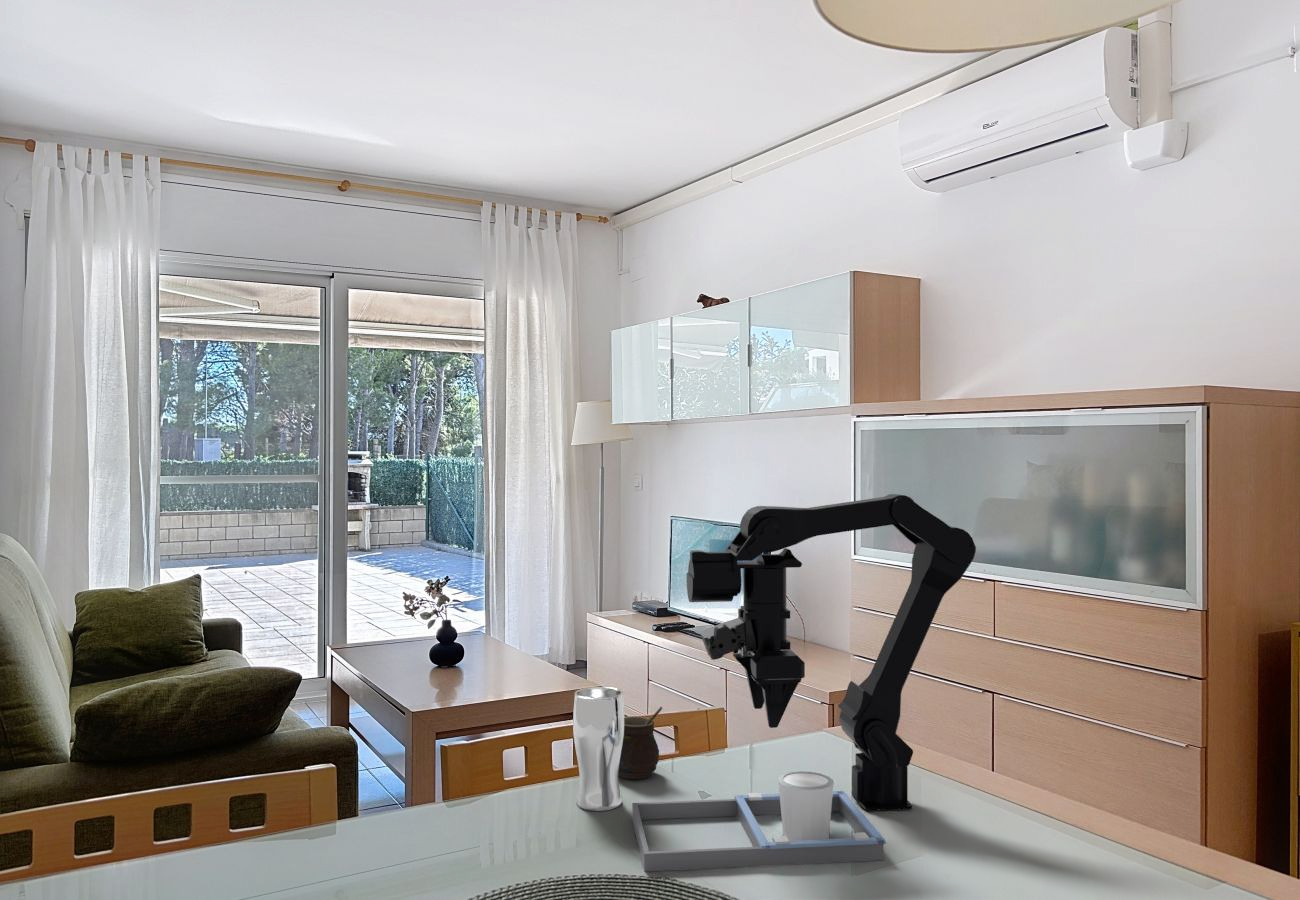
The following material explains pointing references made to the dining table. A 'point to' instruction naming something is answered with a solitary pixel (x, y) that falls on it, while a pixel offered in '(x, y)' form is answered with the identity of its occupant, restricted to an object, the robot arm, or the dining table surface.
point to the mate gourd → (639, 748)
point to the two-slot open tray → (756, 835)
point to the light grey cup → (805, 805)
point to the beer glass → (598, 746)
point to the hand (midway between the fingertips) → (765, 717)
